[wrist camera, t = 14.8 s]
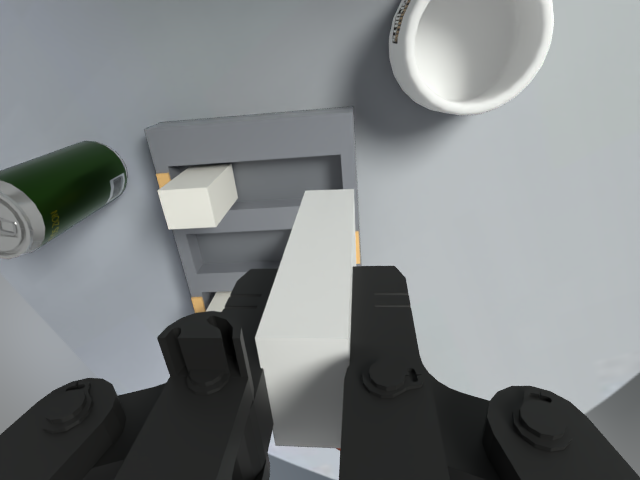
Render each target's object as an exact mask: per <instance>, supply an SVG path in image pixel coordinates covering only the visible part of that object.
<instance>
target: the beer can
mask: <svg viewBox="0 0 640 480" xmlns="http://www.w3.org/2000/svg"><path fill="white" fill-rule="evenodd" d="M127 178H128V173H127V167H126V165H125V163H124V161H123V159H122V158H121V157H120V156H119V154H118V153H117V152H116V151H114V150H113V149H112V148H110V147H109V146H106V145H104V144H101V143H98V142H93V141H84V142H80V143H76V144H74V145H71V146H68V147H65V148H63V149H60V150H57V151H54V152H51V153H49V154H46V155H43V156H40V157H38V158H35V159H32V160H29V161H26V162H24V163H21V164H18V165H15V166H13V167H10V168H7V169H4V170H1V171H0V258H2V259H11V258H15V257H19V256H20V255H22V254H27V253H32V252H33V251H35V250H36V249H38V248H40V247H41V246H43V245H44V244H46V243H47V242H49V241H50V240H52V239H53V238H55V237H57V236H58V235H60V234H61V233H63V232H64V231H66V230H67V229H69V228H70V227H72V226H73V225H75V224H77V223H78V222H80V221H81V220H83V219H84V218H86V217H87V216H89V215H90V214H92V213H94V212H95V211H97V210H98V209H100V208H101V207H103V206H104V205H106V204H107V203H109V202H110V201H112V200H114V199H115V198H117V197H118V196H119V195H121V194H122V192H123V191H124V189H125V187H126V183H127Z"/></svg>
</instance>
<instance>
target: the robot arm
mask: <svg viewBox="0 0 640 480" xmlns="http://www.w3.org/2000/svg"><path fill="white" fill-rule="evenodd" d="M157 339H158V342H159V345H160V347H161V350H162V353H163V356H164V359H165V362H166V365H167V368H168V371H169V374H170V378H169V379H168V381H167V383H165V384H162V385H159V386H156V387H152V388H148V389H144V390H140V391H136V392H132V393H127V394H123V395H119V396H117V394H116V392H115V389H114V387H113V385H112V384H111V383H109V382H107V381H106V380H104V379H98V378H86V379H82V380H78V381H73V382H71V383H68V384H66V385H64V386H62V387H60V388H58V389H56V390H54V391H52V392H51V393H50V394H48V395H47V396H45V397H44V398H43V399H41V400H40V401H38V402H37V403H36V404H35V405H34V406H33V407H31V408H30V409H29V410H28V411H27V412H26V413H25V414H23V415H22V416H21V417H20V418H19V419H18V420H17V421H15V422H14V423H13V424H12V425H11V426H10V427H9V428H7V429H6V430H5V431H4V432H3V433H2V434H1V435H0V480H269V477H270V462H269V458H268V453H267V452H268V447H269V443H270V438H271V434H272V430H273V435H274V440H275V445H276V446H298V447H322V448H341V450H340V469H339V480H640V477H639V476H638V475H637V474H636V472H635V471H634V470H633V469H632V468H631V467H630V466H629V464H628V463H627V462H626V461H625V460H624V459H623V458H622V456H621V455H620V454H619V453H618V452H617V451H616V450H615V448H614V447H613V446H612V445H611V444H610V443H609V442H608V441H607V439H606V438H605V437H604V436H603V435H602V434H601V433H600V431H599V430H598V429H597V428H596V427H595V426H594V424H593V423H592V422H591V421H590V420H589V419H588V418H587V416H585V415H584V414H583V413H582V412H581V411H580V410H579V409H577V408H576V407H575V406H574V405H573V404H572V403H571V402H569V401H567V400H566V399H564V398H562V397H560V396H558V395H556V394H554V393H552V392H551V391H547V390H543V389H540V388H536V387H532V386H511V387H508V388H506V389H503V390H501V391H498V392H497V393H496V394H495V395H494V397H493V398H492V399H491V400H490V401H488V400H485V399H481V398H478V397H474V396H471V395H467V394H464V393H461V392H458V391H456V390H453V389H450V388H448V387H447V386H445V385H443V384H442V383H440V382H438V381H437V380H436V379H435V378H434V377H433V376H432V375H430V374H429V373H428V371H427V370H426V368H425V367H424V365H423V364H422V361H421V358H420V355H419V350H418V344H417V338H416V333H415V327H414V322H413V316H412V311H411V308H410V300H409V295H408V289H407V283H406V278H405V277H404V276H403V275H402V274H401V272H400V271H399V270H398V269H397V268H396V267H395V266H356V237H355V204H354V189H339V190H308V191H305V193H304V196H303V199H302V202H301V205H300V207H299V210H298V213H297V216H296V219H295V222H294V225H293V228H292V231H291V234H290V237H289V240H288V243H287V245H286V248H285V251H284V254H283V257H282V260H281V263H280V266H279V269H250V270H249V271H248V272H247V273H245V274H244V275H243V276H242V277H241V278H240V279H238V280H237V282H236V284H235V286H234V288H233V290H232V292H231V294H230V297H229V298H228V300H227V302H226V304H225V309H223V310H222V312H217V311H207V312H198V313H194V314H192V315H189V316H186V317H183V318H181V319H179V320H177V321H176V322H174V323H173V324H171V325H169V326H168V327H167V328H166V329H165V330H164V331H163V332H162V333H161V334H160V335H159V336H158V337H157Z"/></svg>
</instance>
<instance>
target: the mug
mask: <svg viewBox="0 0 640 480" xmlns="http://www.w3.org/2000/svg"><path fill="white" fill-rule="evenodd" d="M553 26H554V16H553V6H552V0H402V1H401V3H400V5H399V7H398V9H397V11H396V13H395V16H394V18H393V22H392V26H391V31H390V35H389V59H390V63H391V66H392V70H393V74H394V77H395V78H396V80H397V82H398V83H399V85H400V87H401V89H402V90H403V91H404V92H405V93H406V94H407V95H408V96H409V97H410V98H411V99H412V100H413V101H414V102H416V103H418V104H420V105H421V106H423V107H425V108H427V109H429V110H432V111H438V112H443V113H448V114H455V115H460V116H464V115H477V114H482V113H485V112H488V111H491V110H494V109H497V108H499V107H500V106H502V105H504V104H505V103H507V102H508V101H510V100H512V99H513V98H515V97H516V96H517V95H518V94H519V93H520V92H521V91H522V90H523V89H524V88H525V87H526V86H527V85H528V84H529V83H530V82H531V81H532V80H533V78H534V77H535V75H536V74H537V72H538V71H539V69H540V68H541V66H542V65H543V63H544V60H545V57H546V55H547V52H548V50H549V47H550V45H551V40H552V33H553Z"/></svg>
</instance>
